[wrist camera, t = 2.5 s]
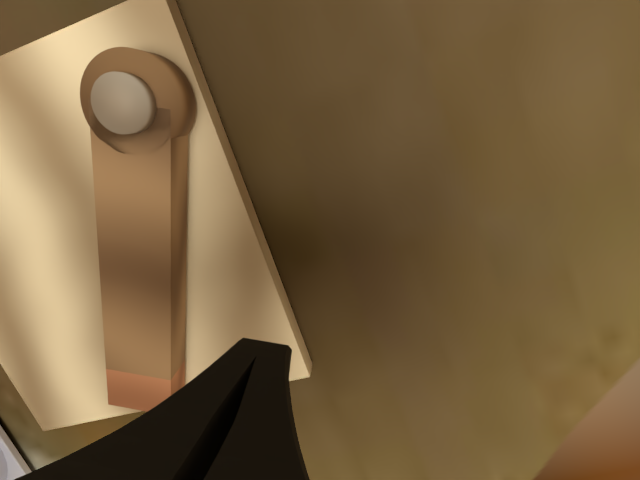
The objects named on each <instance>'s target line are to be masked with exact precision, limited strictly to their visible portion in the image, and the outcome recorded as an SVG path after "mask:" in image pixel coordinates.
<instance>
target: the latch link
mask: <svg viewBox="0 0 640 480" xmlns="http://www.w3.org/2000/svg"><path fill="white" fill-rule="evenodd" d="M80 101H81V107H82V111H83V113H84V116H85V119H86V121H87V123H88V125H89V126H90V135H91V150H92V165H93V180H94V195H95V211H96V226H97V241H98V256H99V271H100V287H101V302H102V317H103V332H104V347H105V362H106V378H107V393H108V405H114V406H119V407H124V408H130V409H135V410H141V411H146V412H148V411H149V410H151V409H152V408H154V407H155V406H157V405H158V404H160V403H161V402H162V401H164V400H165V399H167V398H168V397H169V396H171V395H172V394H174V393H175V392H176V391H178V390H179V389H181V388H182V387H183V386H185V321H186V247H187V173H188V134H189V133H190V131H191V129H192V127H193V124H194V121H195V115H196V102H195V96H194V93H193V89H192V87H191V84H190V82H189V81H188V79H187V77H186V76H185V74H184V73H183V72H182V71H181V69H180V68H179V67H178V66H177V65H175V64H174V63H173V62H172V61H170V60H169V59H167V58H165V57H163V56H161V55H158V54H155V53H151V52H147V51H142V50H138V49H134V48H129V47H114V48H110V49H107V50H105V51H102V52H101V53H99V54H98V55H96V56H95V57H94V58H93V59H92V60H91V61H90V63H89V64H88V65H87V67H86V69H85V71H84V73H83V76H82V79H81V84H80Z"/></svg>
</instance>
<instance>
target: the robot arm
mask: <svg viewBox="0 0 640 480" xmlns="http://www.w3.org/2000/svg"><path fill="white" fill-rule="evenodd" d="M291 355H292V349H291V348H290V347H289V345H284V344H278V343H272V342H266V341H261V340H255V339H249V338H242V339H240V340H239V341H238V342H237V343H236V344H234V345H233V346H232V347H231V348H230V349H229V350H228V351H226V352H225V353H224V354H223V355H222V356H221V357H220V358H218V359H217V360H216V361H215V362H214V363H212V364H211V365H210V366H209V367H208V368H206V369H205V370H204V371H203V372H201V373H200V374H199V375H198V376H196V377H195V378H194V379H193V380H191V381H190V382H189V383H187V384H186V385H185V386H183V387H182V388H181V389H179V390H178V391H176V392H175V393H174V394H172V395H171V396H169V397H168V398H167V399H165V400H164V401H162V402H161V403H160V404H158V405H157V406H155V407H154V408H152V409H151V410H149V411H148V412H146V413H145V414H143V415H141V416H140V417H138V418H137V419H135V420H133V421H132V422H130V423H128V424H127V425H125V426H123V427H122V428H120V429H118V430H116V431H115V432H113V433H111V434H109V435H107V436H105V437H103V438H101V439H99V440H97V441H95V442H93V443H91V444H90V445H88V446H86V447H84V448H82V449H80V450H78V451H76V452H74V453H72V454H70V455H68V456H66V457H64V458H62V459H60V460H57V461H55V462H53V463H51V464H49V465H46V466H44V467H42V468H40V469H38V470H35V471H33V472H32V471H31V470H30V468H29V467H28V465H27V464H26V462H25V461H24V459H23V458H22V456H21V455H20V454H19V452H18V451H17V449H16V448H15V446H14V445H13V443H12V442H11V440H10V439H9V437H8V436H7V434H6V433H5V431H4V430H3V428H2V427H1V425H0V480H309V477H308V473H307V470H306V467H305V464H304V460H303V457H302V453H301V449H300V445H299V441H298V437H297V433H296V428H295V423H294V418H293V412H292V405H291V397H290V388H289V372H290V363H291Z"/></svg>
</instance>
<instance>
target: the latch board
mask: <svg viewBox="0 0 640 480" xmlns="http://www.w3.org/2000/svg"><path fill="white" fill-rule="evenodd" d="M114 47H129V48H134V49H138V50H142V51H147V52H151V53H155V54H158V55H161V56H163V57H165V58H167V59H169V60H170V61H172V62H173V63H174V64H175V65H177V66H178V67H179V68H180V69H181V71H182V72H183V73H184V74H185V76H186V77H187V79H188V81H189V82H190V84H191V87H192V89H193V93H194V96H195V102H196V115H195V121H194V124H193V127H192V129H191V131H190V133H189V134H188V173H187V247H186V321H185V385H186V384H187V383H189V382H190V381H191V380H193V379H194V378H195V377H196V376H198V375H199V374H200V373H201V372H203V371H204V370H205V369H206V368H208V367H209V366H210V365H211V364H212V363H214V362H215V361H216V360H217V359H218V358H220V357H221V356H222V355H223V354H224V353H225V352H226V351H228V350H229V349H230V348H231V347H232V346H233V345H234V344H236V343H237V342H238V341H239V340H240V339H242V338H249V339H255V340H261V341H266V342H272V343H278V344H284V345H289V347H290V348H291V349H292V355H291V363H290V372H289V381H292V380H297V379H302V378H307V377H310V374H311V369H312V361H311V359H310V356H309V353H308V351H307V348H306V345H305V343H304V340H303V337H302V335H301V332H300V329H299V327H298V324H297V321H296V319H295V316H294V313H293V311H292V308H291V305H290V303H289V300H288V297H287V295H286V292H285V289H284V287H283V284H282V281H281V279H280V276H279V273H278V271H277V268H276V266H275V263H274V260H273V258H272V255H271V252H270V250H269V247H268V244H267V242H266V239H265V236H264V234H263V231H262V228H261V226H260V223H259V220H258V218H257V215H256V212H255V210H254V207H253V204H252V202H251V199H250V196H249V194H248V191H247V188H246V186H245V183H244V180H243V178H242V175H241V172H240V170H239V167H238V164H237V162H236V159H235V157H234V154H233V151H232V149H231V146H230V143H229V141H228V138H227V135H226V133H225V130H224V127H223V125H222V122H221V119H220V117H219V114H218V111H217V109H216V106H215V103H214V101H213V98H212V95H211V93H210V90H209V87H208V85H207V82H206V79H205V77H204V74H203V71H202V69H201V66H200V63H199V61H198V58H197V55H196V53H195V50H194V48H193V45H192V42H191V40H190V37H189V34H188V32H187V29H186V26H185V24H184V21H183V18H182V16H181V13H180V10H179V8H178V5H177V2H176V0H128V1H125V2H123V3H121V4H118V5H116V6H114V7H112V8H109V9H107V10H105V11H102V12H100V13H98V14H96V15H93V16H91V17H89V18H86V19H84V20H82V21H80V22H77V23H75V24H73V25H70V26H68V27H66V28H64V29H61V30H59V31H57V32H54V33H52V34H50V35H48V36H45V37H43V38H41V39H38V40H36V41H34V42H32V43H29V44H27V45H25V46H22V47H20V48H18V49H16V50H13V51H11V52H9V53H6V54H4V55H2V56H0V364H1V366H2V367H3V369H4V370H5V372H6V373H7V375H8V377H9V378H10V380H11V381H12V383H13V384H14V386H15V388H16V389H17V391H18V392H19V394H20V395H21V397H22V399H23V400H24V402H25V403H26V405H27V406H28V408H29V410H30V411H31V413H32V414H33V416H34V417H35V419H36V420H37V422H38V424H39V425H40V427H41V428H42V430H43V431H47V430H52V429H56V428H61V427H66V426H71V425H76V424H81V423H86V422H91V421H96V420H101V419H106V418H110V417H115V416H120V415H125V414H130V413H135V412H140V411H141V410H135V409H130V408H124V407H119V406H114V405H108V393H107V378H106V362H105V347H104V332H103V317H102V302H101V287H100V271H99V256H98V241H97V226H96V211H95V195H94V180H93V165H92V150H91V135H90V126H89V125H88V123H87V121H86V119H85V116H84V113H83V111H82V107H81V101H80V84H81V79H82V76H83V73H84V71H85V69H86V67H87V65H88V64H89V63H90V61H91V60H92V59H93V58H94V57H95V56H96V55H98V54H99V53H101V52H102V51H105V50H107V49H110V48H114Z"/></svg>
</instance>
